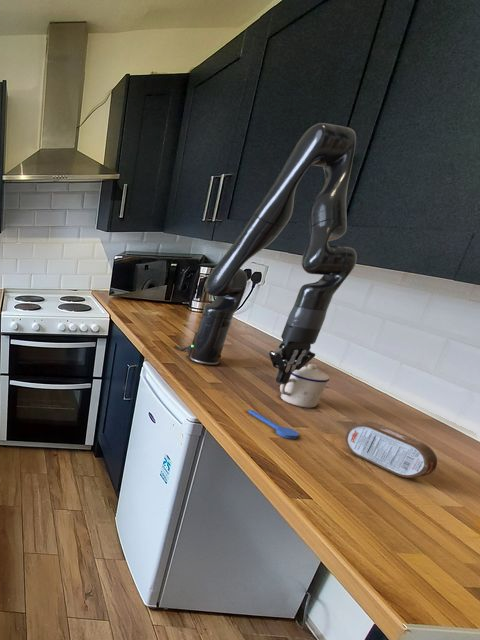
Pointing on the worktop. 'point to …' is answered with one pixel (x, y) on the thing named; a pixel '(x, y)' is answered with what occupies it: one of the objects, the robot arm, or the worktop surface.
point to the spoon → (276, 427)
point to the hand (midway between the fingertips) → (280, 383)
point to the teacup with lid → (304, 386)
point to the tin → (391, 450)
